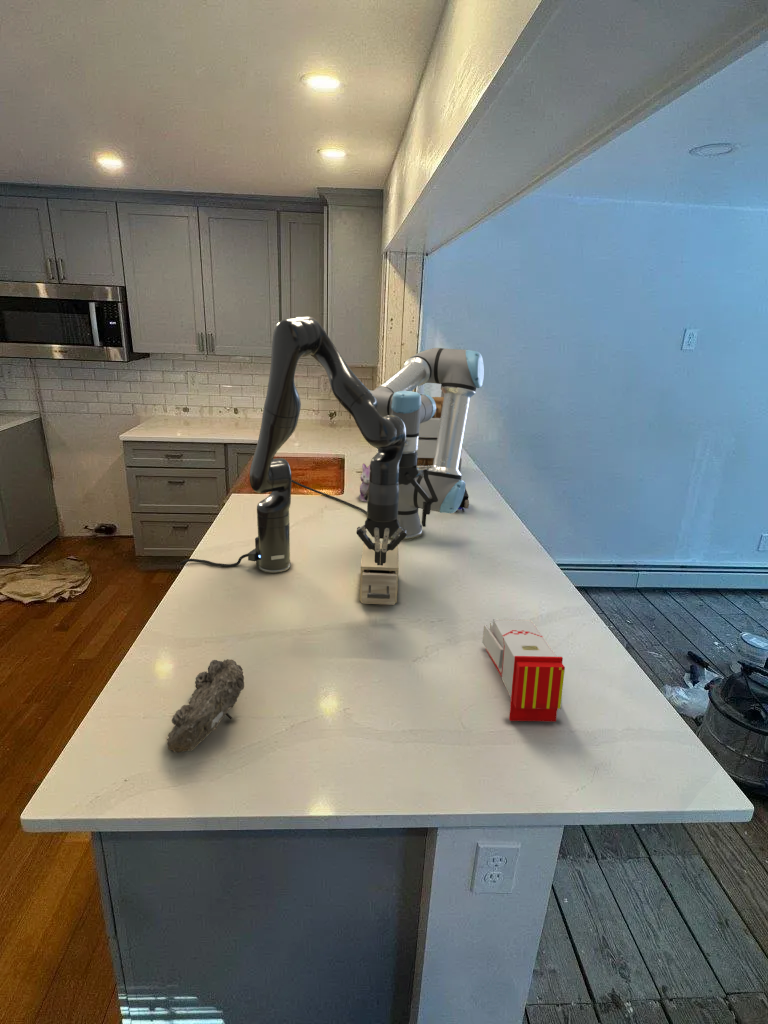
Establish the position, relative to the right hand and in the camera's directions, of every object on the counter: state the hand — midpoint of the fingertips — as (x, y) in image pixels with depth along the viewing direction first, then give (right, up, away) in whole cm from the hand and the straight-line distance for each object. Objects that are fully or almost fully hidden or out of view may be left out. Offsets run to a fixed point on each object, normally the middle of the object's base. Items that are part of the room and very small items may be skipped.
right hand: (399, 524), depth 159 cm
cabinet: (-6, -18, +2) cm, 19 cm away
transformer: (+13, +22, +116) cm, 119 cm away
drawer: (-6, -19, -4) cm, 21 cm away
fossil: (-37, -36, -51) cm, 72 cm away
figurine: (-11, +9, +76) cm, 77 cm away
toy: (+24, -33, -36) cm, 54 cm away
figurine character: (+26, +5, +70) cm, 75 cm away
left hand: (-5, -10, -16) cm, 20 cm away
